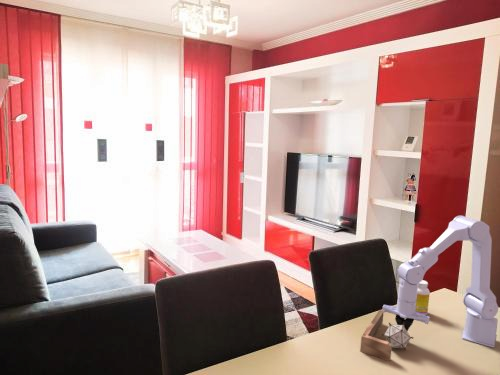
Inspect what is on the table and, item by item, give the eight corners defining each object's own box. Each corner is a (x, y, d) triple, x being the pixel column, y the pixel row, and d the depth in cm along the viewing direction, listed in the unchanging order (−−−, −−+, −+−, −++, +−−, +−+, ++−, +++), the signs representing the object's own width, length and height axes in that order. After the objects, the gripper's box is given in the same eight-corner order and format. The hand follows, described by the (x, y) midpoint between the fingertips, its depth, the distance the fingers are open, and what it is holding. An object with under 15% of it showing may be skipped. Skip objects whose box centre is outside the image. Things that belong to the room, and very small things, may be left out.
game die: (399, 361, 121) (410, 349, 114) (375, 345, 125) (384, 332, 117) (409, 339, 127) (420, 326, 119) (385, 324, 130) (394, 311, 123)
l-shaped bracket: (403, 330, 134) (405, 316, 134) (389, 361, 115) (391, 345, 114) (378, 322, 139) (379, 309, 138) (360, 351, 119) (361, 335, 119)
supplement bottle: (431, 315, 148) (434, 283, 146) (418, 317, 145) (422, 285, 143) (417, 307, 154) (421, 277, 152) (405, 309, 151) (408, 279, 149)
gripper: (381, 297, 125) (378, 335, 127) (429, 309, 118) (424, 349, 120) (386, 290, 131) (382, 326, 133) (431, 301, 124) (427, 340, 125)
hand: (402, 337), depth 127 cm, fingers closed
